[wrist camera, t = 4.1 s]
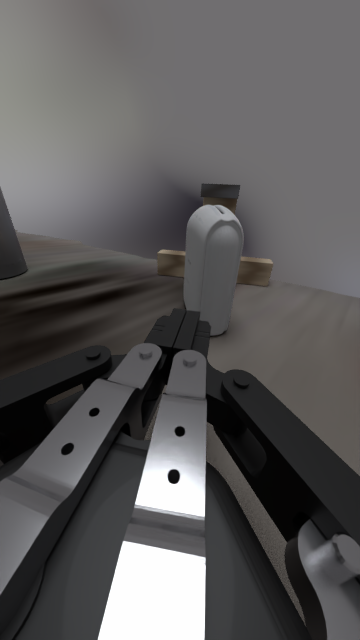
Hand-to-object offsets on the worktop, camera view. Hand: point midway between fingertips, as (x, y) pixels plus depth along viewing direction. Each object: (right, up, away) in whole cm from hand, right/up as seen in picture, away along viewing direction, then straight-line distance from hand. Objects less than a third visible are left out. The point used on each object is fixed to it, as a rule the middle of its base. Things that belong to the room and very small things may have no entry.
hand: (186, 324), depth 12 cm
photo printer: (+2, +1, +15) cm, 15 cm away
